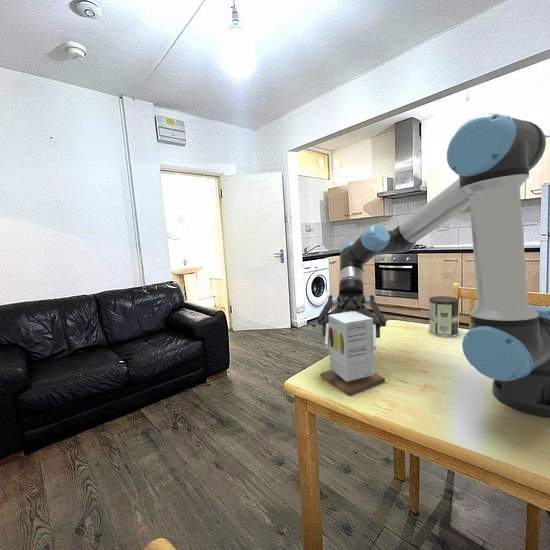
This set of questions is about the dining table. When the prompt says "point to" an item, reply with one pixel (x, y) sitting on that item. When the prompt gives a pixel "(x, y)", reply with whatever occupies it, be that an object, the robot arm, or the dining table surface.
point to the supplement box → (351, 345)
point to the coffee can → (444, 316)
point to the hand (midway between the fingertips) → (350, 347)
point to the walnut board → (352, 382)
